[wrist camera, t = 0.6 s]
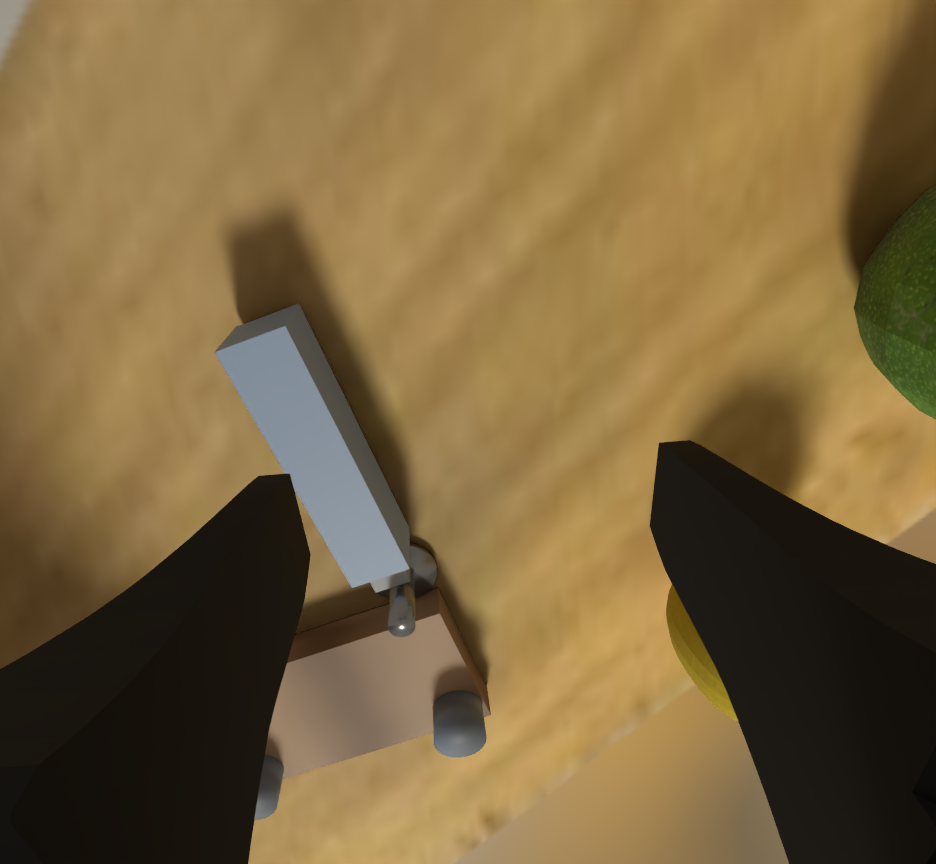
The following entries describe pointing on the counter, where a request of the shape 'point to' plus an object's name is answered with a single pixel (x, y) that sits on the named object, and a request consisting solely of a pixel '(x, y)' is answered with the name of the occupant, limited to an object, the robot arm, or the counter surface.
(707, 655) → the lemon
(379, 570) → the hinged leg
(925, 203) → the avocado
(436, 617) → the board
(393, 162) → the counter surface
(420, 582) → the pivot pin
